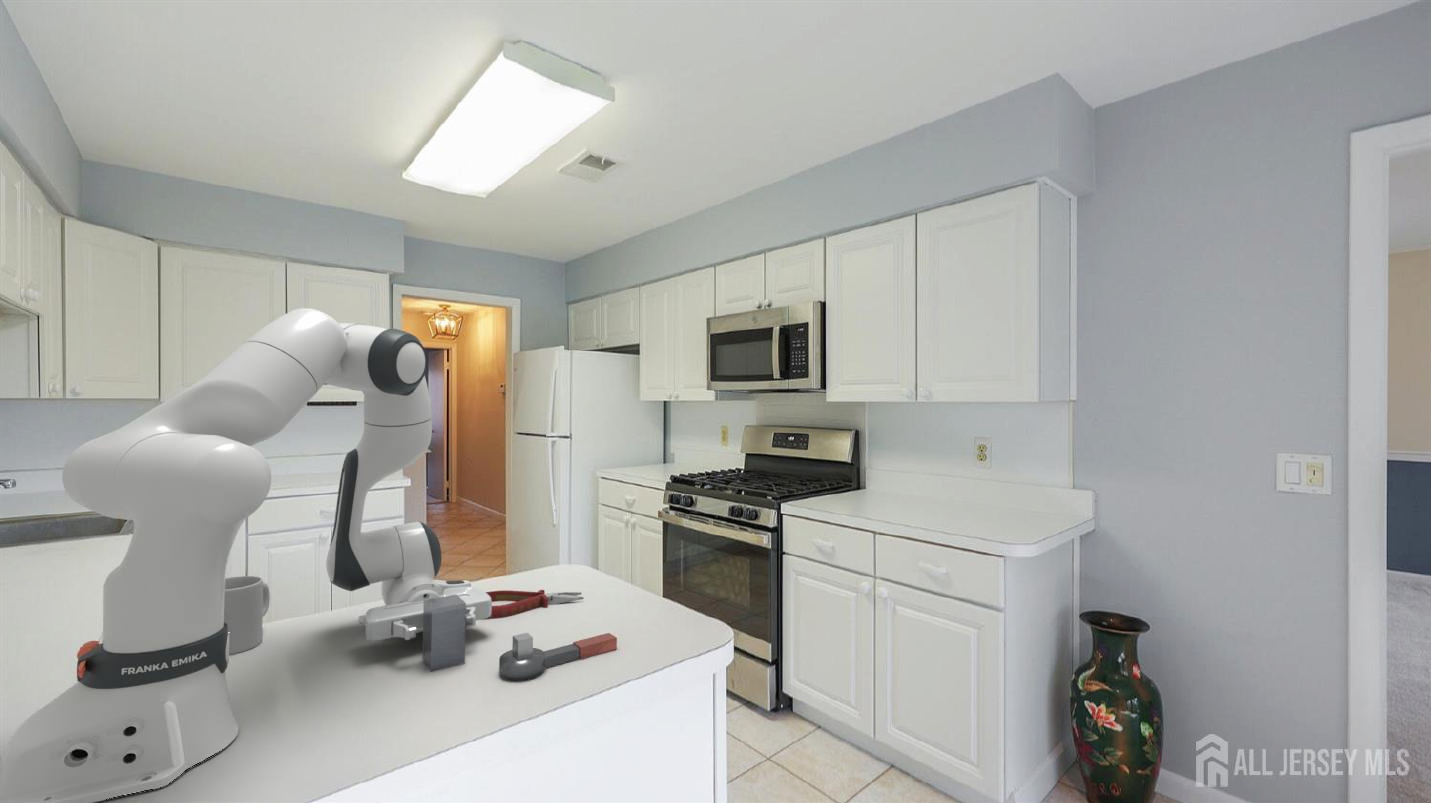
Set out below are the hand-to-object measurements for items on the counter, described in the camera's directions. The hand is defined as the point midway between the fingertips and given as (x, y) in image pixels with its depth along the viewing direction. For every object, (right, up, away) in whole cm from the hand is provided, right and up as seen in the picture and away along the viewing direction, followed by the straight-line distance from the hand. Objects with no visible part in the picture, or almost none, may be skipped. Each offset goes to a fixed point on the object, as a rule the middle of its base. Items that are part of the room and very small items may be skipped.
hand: (442, 627), depth 101 cm
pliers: (+6, -6, +26) cm, 27 cm away
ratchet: (+19, -6, +1) cm, 20 cm away
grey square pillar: (0, -5, 0) cm, 5 cm away
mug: (-38, -5, +6) cm, 39 cm away
